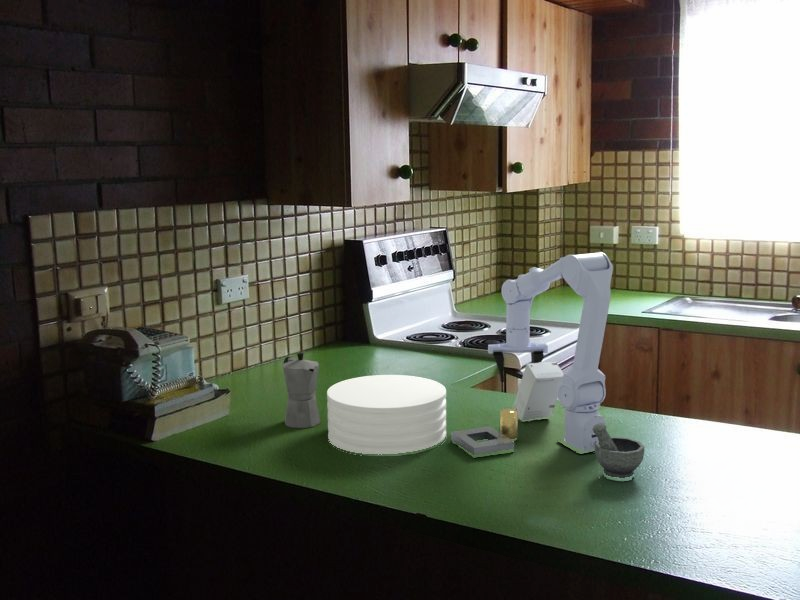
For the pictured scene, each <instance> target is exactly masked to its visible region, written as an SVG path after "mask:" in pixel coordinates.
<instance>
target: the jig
mask: <svg viewBox="0 0 800 600" xmlns="http://www.w3.org/2000/svg"><path fill="white" fill-rule="evenodd" d="M483 439H488V440H487V441H480V442H476V441H477V440H483ZM451 440H452V441H454V442H455V443H456V444H458V445H460V446H461V447H463V448H464V449H465V450H467V451H468V452H470V453H472V454H473V455H478V454H485V453H491V452H497V451H502V450H509V449H514V450H515V442H514V441H512V440H511V439H509V438H508V437H506V436H504V435H503V434H501V433H500V431H499V430H496V429H495V428H493V427H492V426H489V425H488V426H482V427H481V426H480V427H474V428H468V429H467V428H466V429H461V430H454V431H450V441H451Z"/></svg>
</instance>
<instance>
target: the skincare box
mask: <svg viewBox="0 0 800 600" xmlns="http://www.w3.org/2000/svg"><path fill="white" fill-rule="evenodd" d="M523 371H524V372H523V375H522V378H521V381H520V384H519V387H518V391H517V394H516V397H515V400H514V403H513V409H516V410H517V411H518V419H519V421H520V420H529V419H535V418H543V417H552V414H553V412H554V410H555V409H554V408H555V406H556V404H557V401H558V387H559V385H560V384H561V382H562V380H563V375H564V374H565V373H564V372H563V371H562V369H561V368H560V365H559V364H558V362H557V361H550V362H549V361H547V362H545V361H542V362H539V363H532V362H531V363H526V364H525V369H524V370H523Z"/></svg>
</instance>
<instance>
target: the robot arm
mask: <svg viewBox="0 0 800 600" xmlns="http://www.w3.org/2000/svg"><path fill="white" fill-rule="evenodd" d="M528 271H529V272H527V273H525V274H523V273H522V274H519V275H518V276H517V278H516V279H507V280H505V281H504V282H503V284H502V285H501V296H502V299H503V301H504V302H505V304H506V307H505V308H506V315H505V317H506V320H505V321H506V323H505V325H506V327H505V330H506V332H505V335H506V337H505V339H506V340H505V342H504V343H495V344H488V345H487V353H488V354H489V355H491V354H492V356H493V358H494V361H495V363H496V366H497V369H498V374H499V379H500V380H499V381H500V382H501V383H505V373H504V368H505V367H504V366H505V365H504V364H505V358H504V354H509V353H510V354H513V353H514V354H516V353H517V354H519V353H520V354H521V353H522V354H525V353H530V355H531V356H530V357H531V358H530V361H531V363H539V362H543V360H544V356H545V355H544V354H549V353H548V351H549V346H548V344H547V343H535V342H534V343H533V342H530V341H531V339H530V338H531V336H530V334H531V333H530V332H531V331H530V330H531V328H530V324H531V323H530V320H531V318H530V315H531V312H530V311H531V309H532V307H533V300H534V299H535V297H536V296H538V295H540V294H541V293H544V292H546V291H547V290H549V288H550V286H551V283H553V282H556V281H558V280H560V279H564V281H565V282H566V283H567V284H568V286H570V287H571V289H572V290H573V291H574V292H575V293H576V295H578V296H580V297H581V298H582V299H583V304H582V310H581V317H580V323H579V327H578V334H577V340H576V344H575V345H576V346H575V351H574V357H573V362H572V365H571V367H570V368H568V369H567V371H565V372H564V373H563V374H564V375H563V380H562V382H561V384H560V385H559V387H558V398H557V400H558V401H559V403H560V405H561V406H562V408H563V409H564V437H563V439H564V441H565V442H566V443H567V444H569V445H572V446H574V447H577V448H579V449H580V450H582V451H586V450H587V451H588V450H593V449H594V450H595V442H597V441H598V438H597V436H596V434H595V433H594V432H593V430H592V429H593V426H595V425H596V424H598V423H604V424H605V426H606V427H607V424H606V420H605V418H604V417H603V416H601V414H600V413H599V410H598V409H599V408H601V403H602V402H604V400H605V398H606V396H607V394H606V391H607V389H606V375H605V374H604V373H603V372H602V371H601V370H600V369H599V364H600V359H601V352H602V348H603V342H604V337H605V330H606V324H607V318H608V316H609V315H608V313H609V309H610V303H611V299H612V298H611V296H612V293H611V292H612V290H611V282H612V276H613V271H614V266H613V264H612V262H611V260H610V258H609V257H608V255H607V254H606V253H604V252H603V251H596V252H592V253H591V252H589V253H581V254H567V255H565V256H562V257H560V258H559V260H557V261H556V262H554V263H552V264H551V265H549V266H548V267H546V268H545V269H543V268H538V267H530V268H529V269H528Z"/></svg>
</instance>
